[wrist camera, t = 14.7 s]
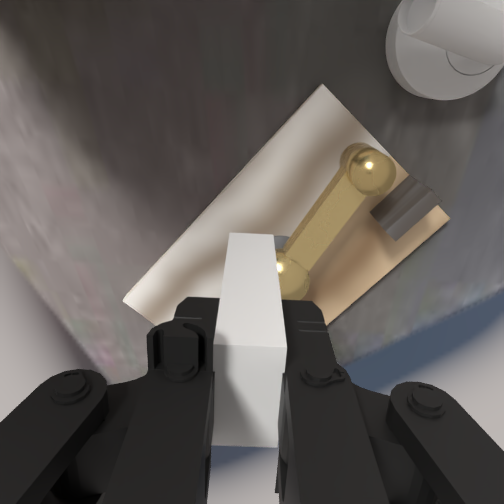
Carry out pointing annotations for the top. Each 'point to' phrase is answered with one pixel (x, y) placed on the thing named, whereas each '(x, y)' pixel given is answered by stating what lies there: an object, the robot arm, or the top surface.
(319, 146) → the door plate
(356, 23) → the top surface
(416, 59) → the wall hook
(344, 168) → the latch lever
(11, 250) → the top surface
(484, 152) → the top surface
